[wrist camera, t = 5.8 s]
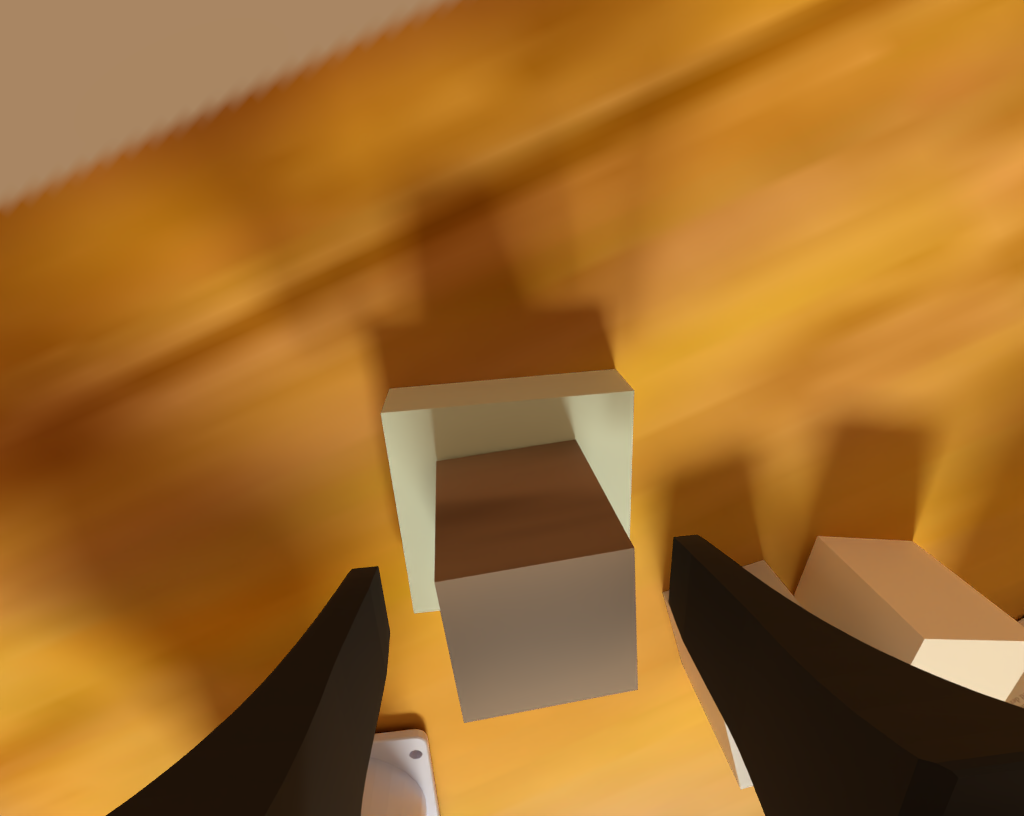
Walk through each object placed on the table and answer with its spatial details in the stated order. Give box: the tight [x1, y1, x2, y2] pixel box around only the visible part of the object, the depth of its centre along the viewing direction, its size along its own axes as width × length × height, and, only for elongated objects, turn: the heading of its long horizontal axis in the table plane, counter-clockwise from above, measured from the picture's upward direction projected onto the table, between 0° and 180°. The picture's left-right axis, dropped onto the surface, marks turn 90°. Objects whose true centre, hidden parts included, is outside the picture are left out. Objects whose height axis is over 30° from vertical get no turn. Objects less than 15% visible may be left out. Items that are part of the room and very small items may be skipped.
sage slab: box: [381, 369, 634, 613], centre depth 17 cm, size 7×7×2 cm
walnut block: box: [434, 439, 638, 723], centre depth 14 cm, size 4×4×5 cm
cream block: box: [794, 536, 1024, 701], centre depth 19 cm, size 4×4×5 cm
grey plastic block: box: [663, 560, 803, 789], centre depth 19 cm, size 4×4×5 cm
